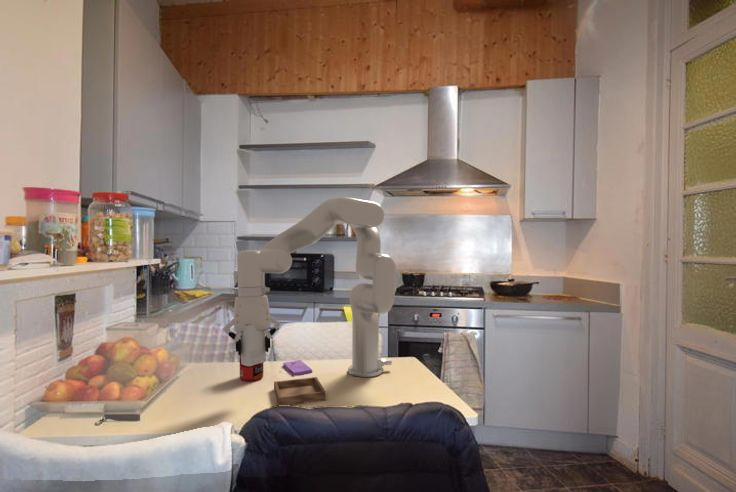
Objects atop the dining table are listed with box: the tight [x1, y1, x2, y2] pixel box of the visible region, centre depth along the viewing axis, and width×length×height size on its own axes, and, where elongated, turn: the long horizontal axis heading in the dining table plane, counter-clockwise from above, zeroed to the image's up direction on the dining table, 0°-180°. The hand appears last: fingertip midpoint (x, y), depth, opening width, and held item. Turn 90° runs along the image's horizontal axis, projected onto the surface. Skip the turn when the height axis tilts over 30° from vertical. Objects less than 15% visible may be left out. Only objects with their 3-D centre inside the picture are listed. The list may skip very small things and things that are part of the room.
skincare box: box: [240, 324, 267, 366], centre depth 117 cm, size 6×4×12 cm
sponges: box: [282, 359, 313, 377], centre depth 146 cm, size 7×13×2 cm, turn 29°
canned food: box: [239, 355, 264, 383], centre depth 136 cm, size 8×8×11 cm
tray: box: [273, 376, 327, 406], centre depth 122 cm, size 14×14×2 cm
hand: (253, 351), depth 117 cm, fingers closed on skincare box, 7 cm apart
